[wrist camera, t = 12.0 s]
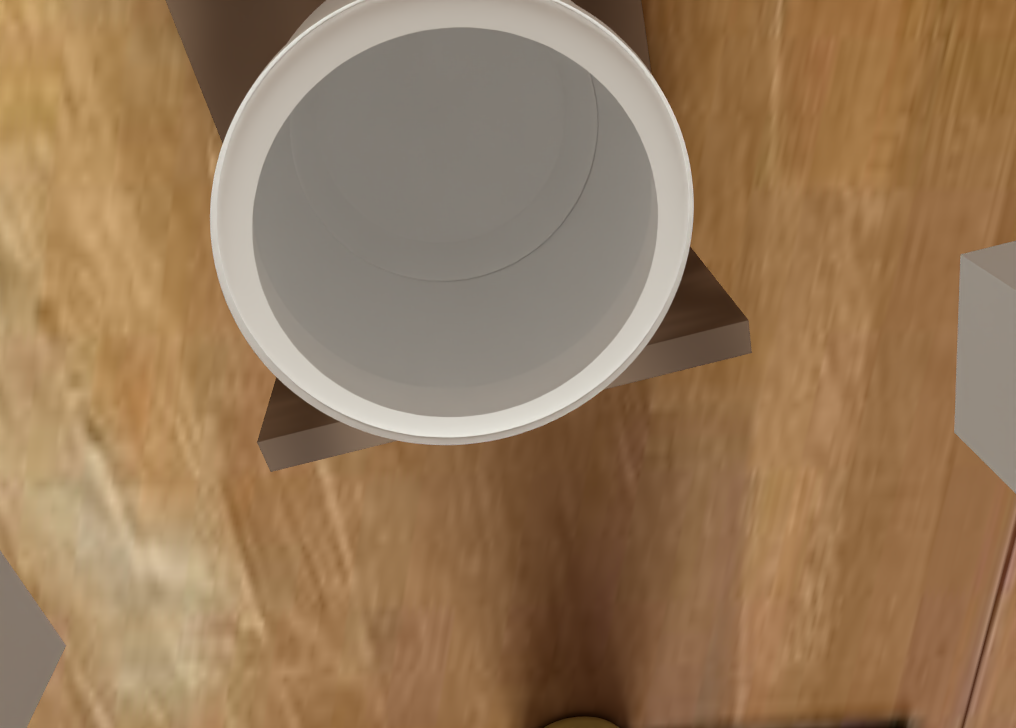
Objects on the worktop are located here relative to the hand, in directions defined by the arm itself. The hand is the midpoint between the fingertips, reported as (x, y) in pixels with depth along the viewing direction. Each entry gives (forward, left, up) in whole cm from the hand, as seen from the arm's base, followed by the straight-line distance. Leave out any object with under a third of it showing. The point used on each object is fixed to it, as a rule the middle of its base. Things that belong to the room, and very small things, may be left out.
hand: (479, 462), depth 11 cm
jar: (0, 0, -23) cm, 23 cm away
